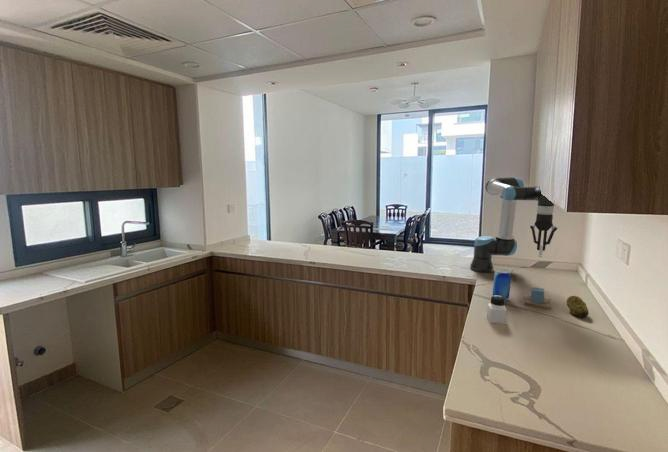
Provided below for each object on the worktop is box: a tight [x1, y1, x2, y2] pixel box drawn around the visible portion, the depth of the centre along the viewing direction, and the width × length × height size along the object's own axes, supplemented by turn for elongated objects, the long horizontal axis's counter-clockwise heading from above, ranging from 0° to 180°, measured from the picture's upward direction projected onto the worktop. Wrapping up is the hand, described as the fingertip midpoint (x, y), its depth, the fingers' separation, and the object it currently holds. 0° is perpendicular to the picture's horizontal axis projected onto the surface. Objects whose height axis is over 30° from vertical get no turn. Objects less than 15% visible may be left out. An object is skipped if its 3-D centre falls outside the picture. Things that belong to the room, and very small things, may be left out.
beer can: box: [492, 268, 512, 302], centre depth 198 cm, size 8×8×16 cm
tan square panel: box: [523, 295, 551, 310], centre depth 193 cm, size 12×12×6 cm
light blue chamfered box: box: [530, 286, 545, 304], centre depth 193 cm, size 6×6×7 cm
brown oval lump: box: [566, 295, 590, 319], centre depth 179 cm, size 8×13×8 cm, turn 155°
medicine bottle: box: [486, 295, 508, 325], centre depth 171 cm, size 7×7×12 cm
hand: (540, 256), depth 195 cm, fingers closed
